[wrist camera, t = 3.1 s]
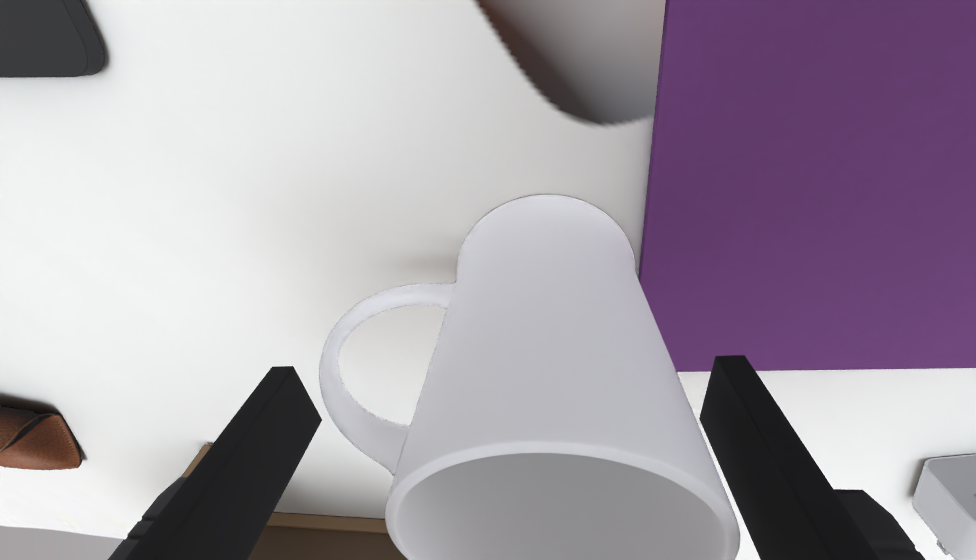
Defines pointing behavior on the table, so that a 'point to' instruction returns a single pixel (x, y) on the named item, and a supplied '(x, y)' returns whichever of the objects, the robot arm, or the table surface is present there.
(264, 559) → the photo frame
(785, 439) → the robot arm
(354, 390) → the table surface
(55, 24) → the phone
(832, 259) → the cloth
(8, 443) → the sunglasses case
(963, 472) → the usb wall charger
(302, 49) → the table surface
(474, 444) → the mug
